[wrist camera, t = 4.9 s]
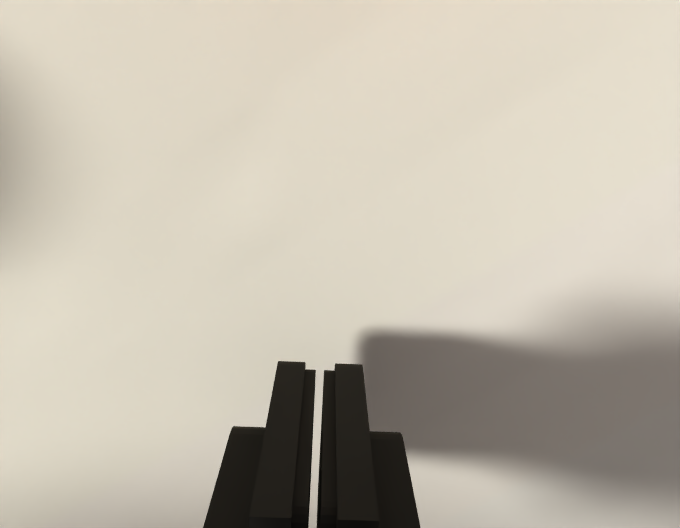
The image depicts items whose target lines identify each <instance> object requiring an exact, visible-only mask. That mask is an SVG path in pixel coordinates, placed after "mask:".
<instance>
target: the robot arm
mask: <svg viewBox="0 0 680 528" xmlns="http://www.w3.org/2000/svg"><path fill="white" fill-rule="evenodd" d="M315 373H316V370H305V362H286V361H278V365H277V370H276V375H275V381H274V386H273V391H272V397H271V402H270V407H269V413H268V418H267V423H266V428H263V427H237V426H234V427H233V428H232V429H231V432H230V435H229V439H228V442H227V446H226V449H225V453H224V456H223V460H222V464H221V467H220V471H219V474H218V478H217V481H216V485H215V488H214V492H213V495H212V499H211V502H210V506H209V509H208V513H207V516H206V520H205V523H204V527H203V528H308V522H309V503H310V483H311V461H312V439H313V417H314V395H315ZM317 528H420V523H419V518H418V513H417V508H416V503H415V498H414V493H413V487H412V482H411V477H410V472H409V467H408V462H407V457H406V452H405V447H404V441H403V437H402V434H401V433H397V432H371V431H369V423H368V413H367V404H366V394H365V385H364V375H363V366H362V365H358V364H335V371H328V370H324V385H323V405H322V424H321V443H320V462H319V482H318V508H317Z"/></svg>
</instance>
